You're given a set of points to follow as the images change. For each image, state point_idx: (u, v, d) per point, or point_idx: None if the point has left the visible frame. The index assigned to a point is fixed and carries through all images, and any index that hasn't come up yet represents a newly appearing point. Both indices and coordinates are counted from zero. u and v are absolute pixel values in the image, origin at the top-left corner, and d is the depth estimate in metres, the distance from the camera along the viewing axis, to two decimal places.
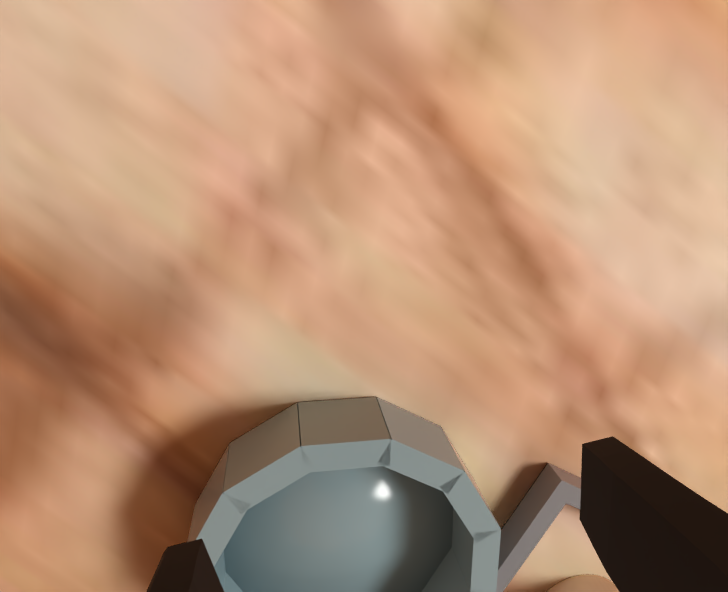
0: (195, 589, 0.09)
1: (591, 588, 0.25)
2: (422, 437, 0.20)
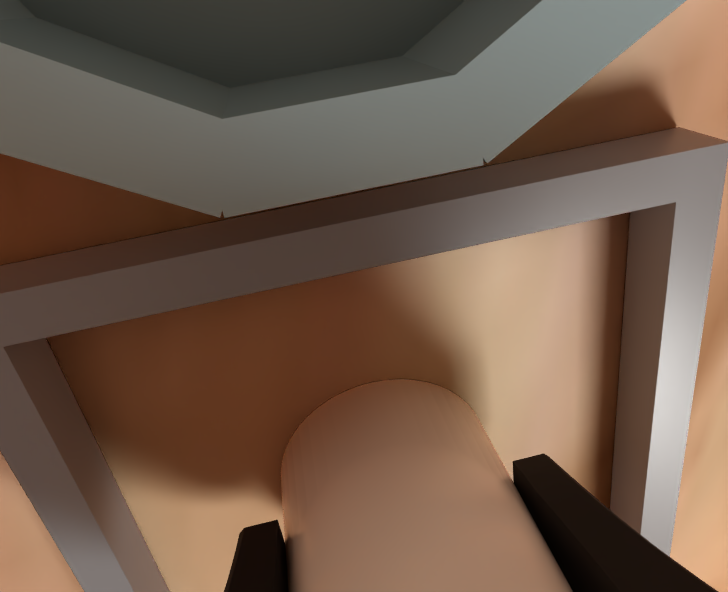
0: (278, 568, 0.09)
1: (482, 430, 0.11)
2: None
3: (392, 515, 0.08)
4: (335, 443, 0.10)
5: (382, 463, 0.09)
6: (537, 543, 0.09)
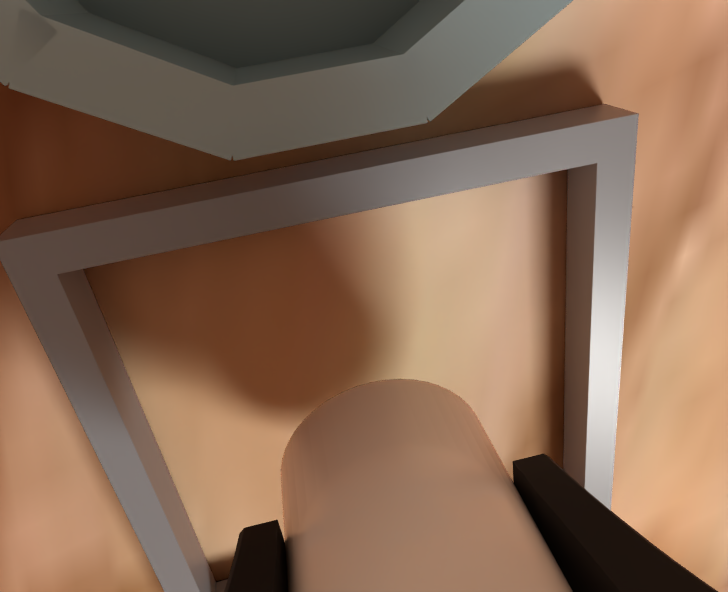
0: (278, 568, 0.09)
1: (482, 429, 0.11)
2: None
3: (392, 515, 0.08)
4: (335, 443, 0.10)
5: (382, 463, 0.09)
6: (537, 543, 0.09)
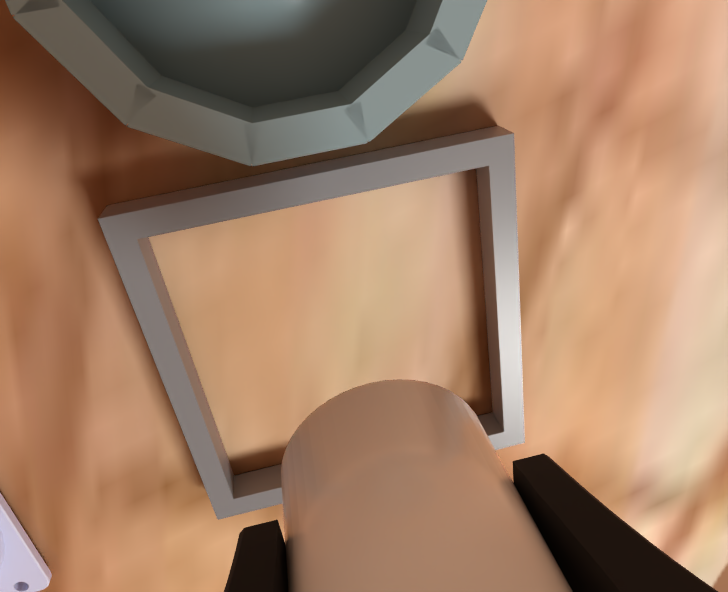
0: (278, 568, 0.09)
1: (482, 430, 0.11)
2: None
3: (392, 515, 0.08)
4: (335, 443, 0.10)
5: (383, 463, 0.09)
6: (537, 543, 0.09)
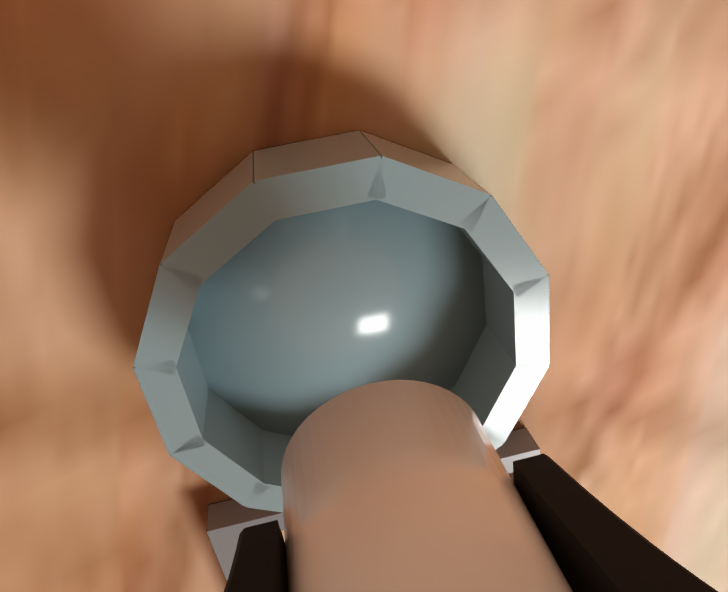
0: (279, 568, 0.09)
1: (482, 430, 0.11)
2: None
3: (393, 516, 0.08)
4: (335, 444, 0.10)
5: (382, 464, 0.09)
6: (538, 544, 0.09)
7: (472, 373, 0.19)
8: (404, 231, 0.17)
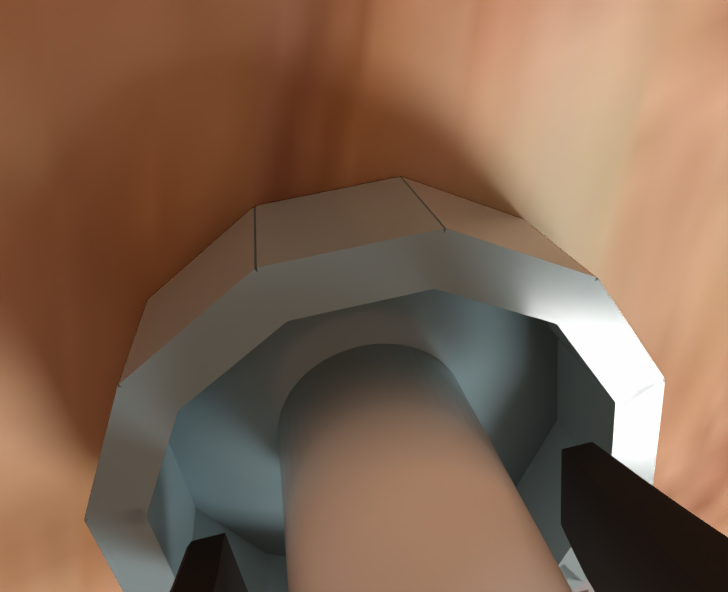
0: (221, 583, 0.09)
1: (459, 389, 0.12)
2: None
3: (375, 452, 0.10)
4: (326, 397, 0.11)
5: (367, 412, 0.11)
6: (502, 478, 0.10)
7: (538, 482, 0.14)
8: (458, 309, 0.12)
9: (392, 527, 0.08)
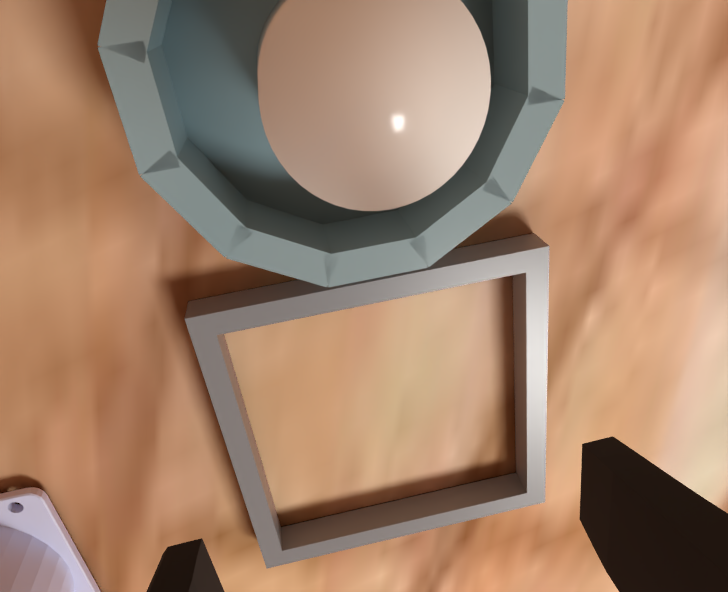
0: (195, 589, 0.09)
1: None
2: None
3: None
4: None
5: None
6: None
7: None
8: None
9: None
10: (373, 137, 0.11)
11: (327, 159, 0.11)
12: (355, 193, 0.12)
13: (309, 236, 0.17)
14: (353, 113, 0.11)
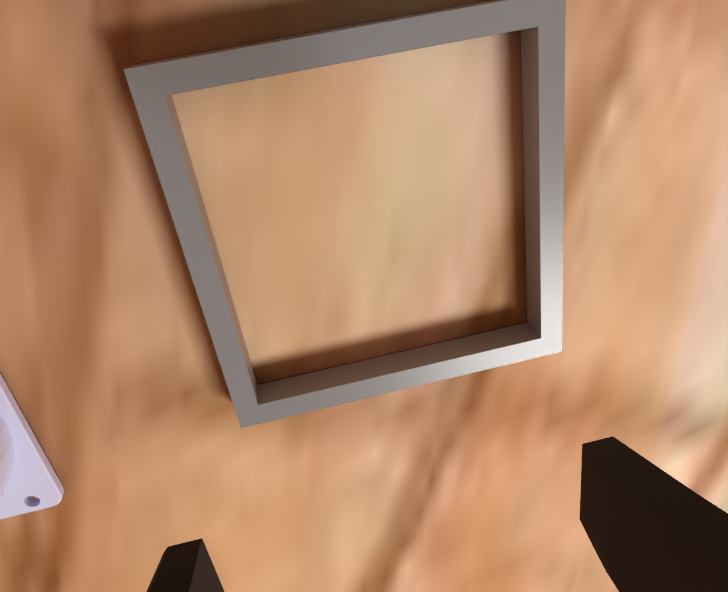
0: (195, 589, 0.09)
1: None
2: None
3: None
4: None
5: None
6: None
7: None
8: None
9: None
10: None
11: None
12: None
13: None
14: None
